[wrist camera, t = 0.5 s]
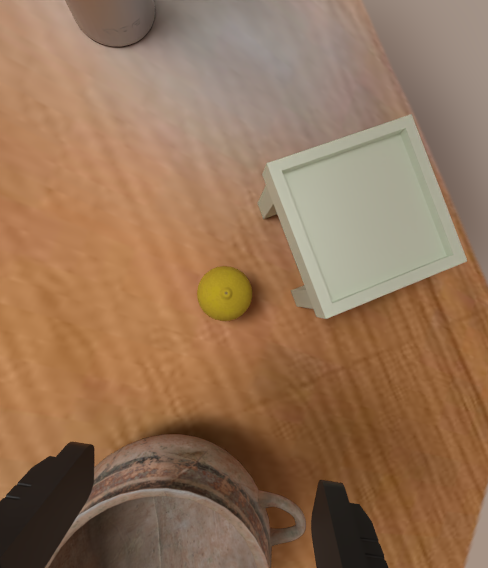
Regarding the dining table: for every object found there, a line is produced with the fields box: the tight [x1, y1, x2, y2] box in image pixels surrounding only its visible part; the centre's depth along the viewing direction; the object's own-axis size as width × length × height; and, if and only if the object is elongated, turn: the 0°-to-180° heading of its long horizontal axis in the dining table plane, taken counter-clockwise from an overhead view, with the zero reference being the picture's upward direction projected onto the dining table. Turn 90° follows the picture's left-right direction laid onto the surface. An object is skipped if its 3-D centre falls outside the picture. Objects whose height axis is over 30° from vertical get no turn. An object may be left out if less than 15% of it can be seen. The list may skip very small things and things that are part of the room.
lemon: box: [197, 266, 252, 321], centre depth 29 cm, size 6×6×8 cm
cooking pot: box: [45, 434, 306, 568], centre depth 26 cm, size 25×19×12 cm
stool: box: [258, 114, 467, 319], centre depth 30 cm, size 14×14×10 cm
